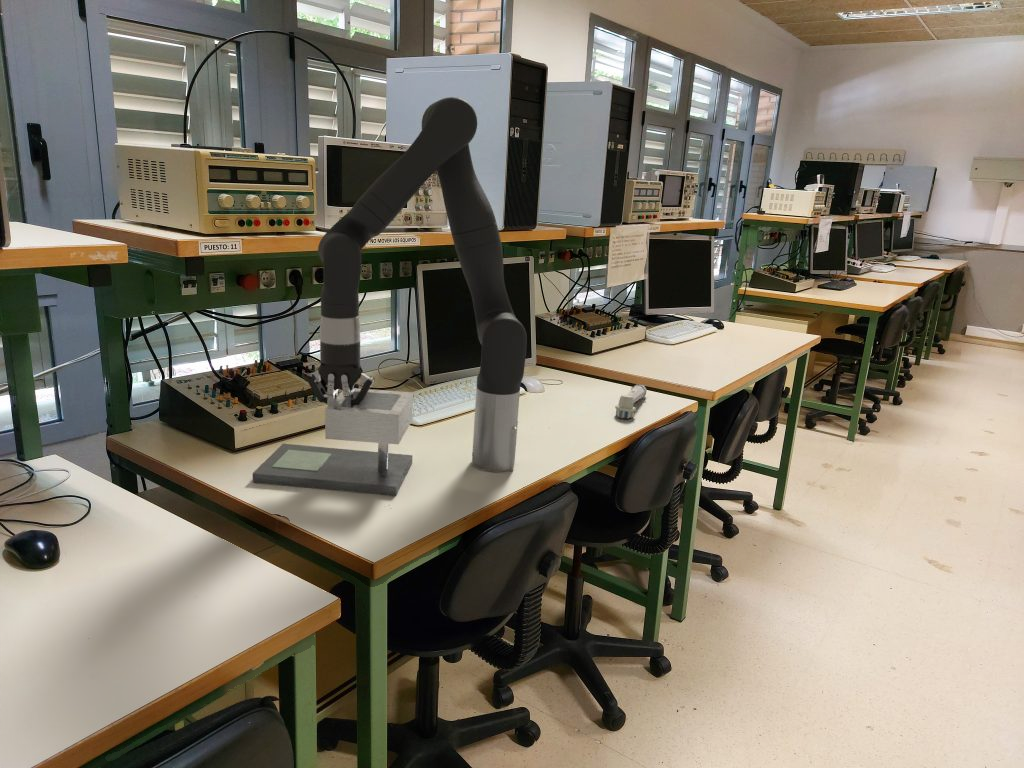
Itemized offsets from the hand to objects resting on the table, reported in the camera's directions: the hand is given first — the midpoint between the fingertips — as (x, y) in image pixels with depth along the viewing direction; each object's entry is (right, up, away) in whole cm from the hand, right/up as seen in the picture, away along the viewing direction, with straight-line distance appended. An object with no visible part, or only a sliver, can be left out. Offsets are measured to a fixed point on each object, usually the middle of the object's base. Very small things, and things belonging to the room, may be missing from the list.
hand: (341, 422), depth 142 cm
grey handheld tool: (+68, +1, +61) cm, 91 cm away
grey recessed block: (+6, -1, 0) cm, 6 cm away
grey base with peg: (-2, -10, +3) cm, 11 cm away
